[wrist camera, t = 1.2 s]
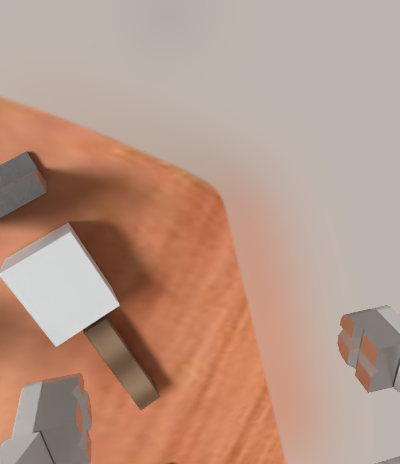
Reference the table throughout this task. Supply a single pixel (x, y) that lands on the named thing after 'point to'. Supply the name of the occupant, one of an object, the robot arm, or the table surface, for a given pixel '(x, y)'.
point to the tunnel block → (59, 284)
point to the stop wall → (19, 183)
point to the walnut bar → (122, 361)
